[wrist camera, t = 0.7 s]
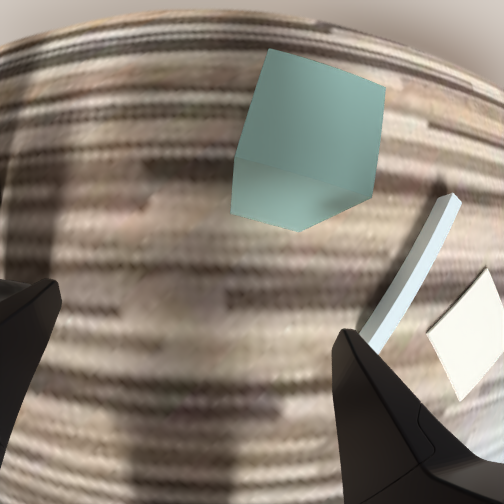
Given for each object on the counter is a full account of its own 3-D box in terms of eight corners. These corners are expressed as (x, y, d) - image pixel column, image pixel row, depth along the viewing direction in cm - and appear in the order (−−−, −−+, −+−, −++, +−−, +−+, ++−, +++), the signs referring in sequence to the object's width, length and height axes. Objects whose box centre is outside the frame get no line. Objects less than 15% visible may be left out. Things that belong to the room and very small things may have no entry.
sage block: (299, 232, 23) (371, 197, 11) (230, 213, 23) (234, 156, 11) (313, 167, 23) (385, 87, 11) (248, 148, 23) (268, 48, 11)
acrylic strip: (364, 349, 23) (376, 356, 21) (353, 341, 23) (364, 348, 21) (446, 206, 24) (462, 202, 22) (437, 197, 24) (452, 192, 22)
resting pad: (458, 400, 23) (460, 401, 23) (426, 333, 23) (428, 334, 23) (511, 337, 24) (513, 337, 24) (485, 268, 24) (487, 268, 24)
